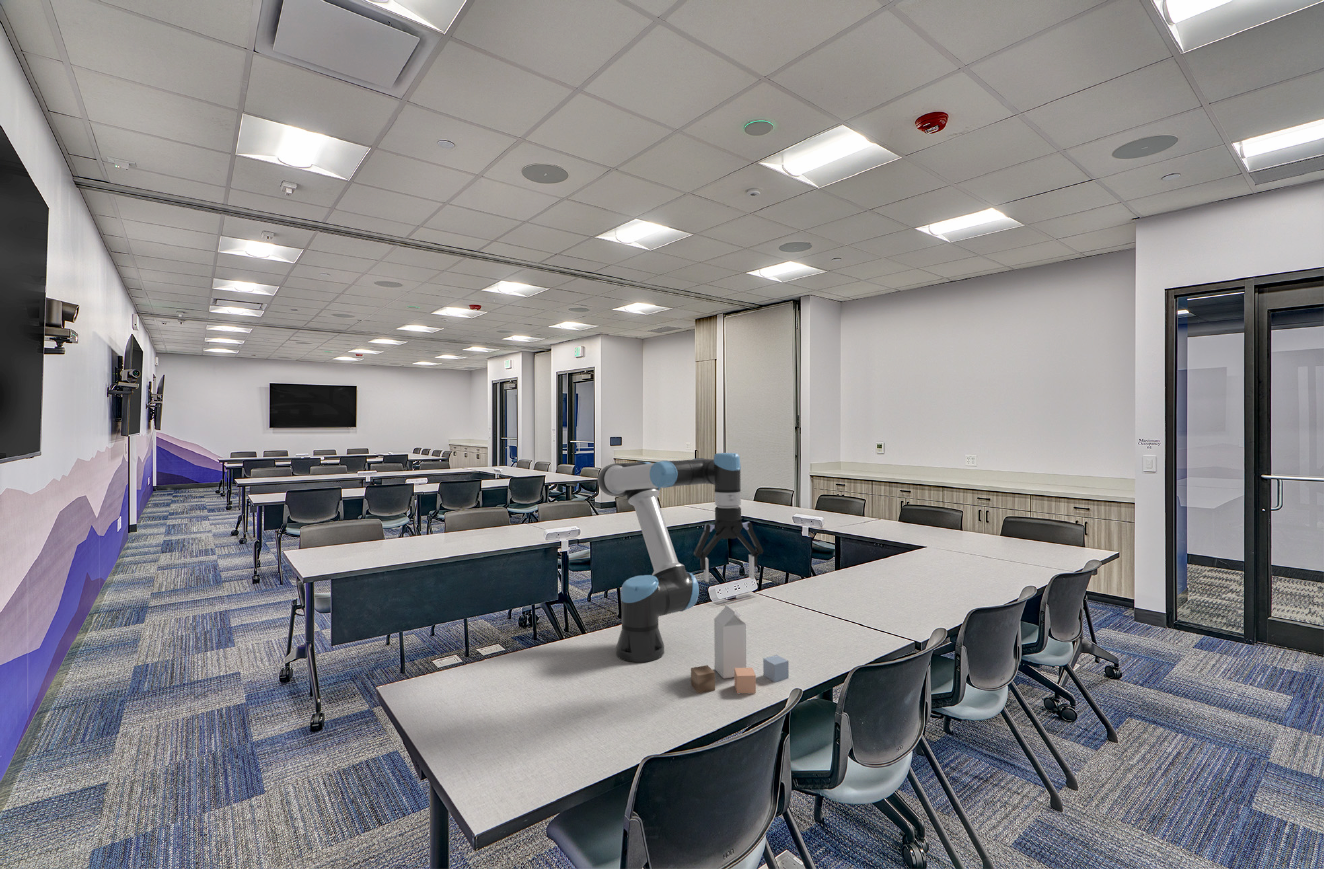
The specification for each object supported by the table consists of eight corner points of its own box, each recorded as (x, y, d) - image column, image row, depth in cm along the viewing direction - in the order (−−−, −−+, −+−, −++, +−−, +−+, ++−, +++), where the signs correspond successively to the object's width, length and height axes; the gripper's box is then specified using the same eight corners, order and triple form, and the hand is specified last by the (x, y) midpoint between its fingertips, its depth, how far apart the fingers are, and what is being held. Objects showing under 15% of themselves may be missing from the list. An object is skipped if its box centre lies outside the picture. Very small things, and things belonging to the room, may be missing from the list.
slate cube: (774, 682, 161) (774, 664, 161) (763, 675, 165) (763, 658, 165) (788, 678, 163) (788, 661, 163) (776, 672, 168) (776, 654, 168)
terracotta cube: (737, 694, 154) (737, 676, 154) (734, 686, 159) (734, 668, 159) (755, 694, 154) (755, 675, 154) (752, 685, 159) (752, 667, 159)
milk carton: (723, 679, 163) (722, 612, 163) (714, 669, 170) (714, 605, 170) (746, 676, 165) (746, 610, 165) (736, 666, 172) (736, 602, 171)
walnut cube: (698, 693, 155) (697, 675, 155) (691, 685, 160) (690, 668, 159) (715, 690, 156) (714, 672, 156) (707, 683, 161) (707, 665, 161)
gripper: (688, 509, 161) (689, 585, 161) (773, 506, 165) (774, 580, 165) (683, 506, 169) (684, 578, 169) (764, 503, 173) (766, 573, 173)
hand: (729, 579), depth 167 cm, fingers open, 13 cm apart
